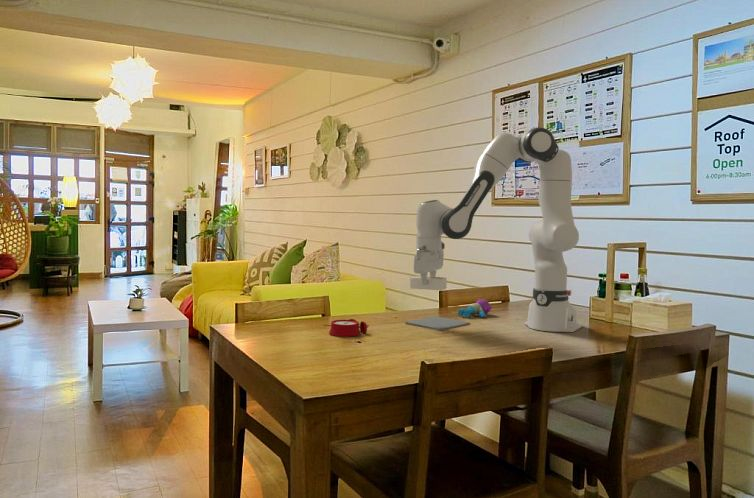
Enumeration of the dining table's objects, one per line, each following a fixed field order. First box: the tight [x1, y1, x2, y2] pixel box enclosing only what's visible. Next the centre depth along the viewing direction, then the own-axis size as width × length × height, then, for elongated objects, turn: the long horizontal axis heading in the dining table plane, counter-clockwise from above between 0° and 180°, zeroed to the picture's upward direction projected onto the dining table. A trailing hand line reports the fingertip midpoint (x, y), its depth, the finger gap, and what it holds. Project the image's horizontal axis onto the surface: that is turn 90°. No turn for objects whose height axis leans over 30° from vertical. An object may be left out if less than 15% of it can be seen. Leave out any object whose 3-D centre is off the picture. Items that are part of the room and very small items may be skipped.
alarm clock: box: [323, 318, 370, 338], centre depth 198 cm, size 10×6×15 cm
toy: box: [457, 298, 493, 319], centre depth 237 cm, size 12×7×15 cm
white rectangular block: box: [409, 275, 447, 291], centre depth 214 cm, size 12×5×4 cm, turn 64°
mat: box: [404, 316, 471, 331], centre depth 218 cm, size 18×16×1 cm
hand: (428, 283), depth 214 cm, fingers closed on white rectangular block, 5 cm apart
